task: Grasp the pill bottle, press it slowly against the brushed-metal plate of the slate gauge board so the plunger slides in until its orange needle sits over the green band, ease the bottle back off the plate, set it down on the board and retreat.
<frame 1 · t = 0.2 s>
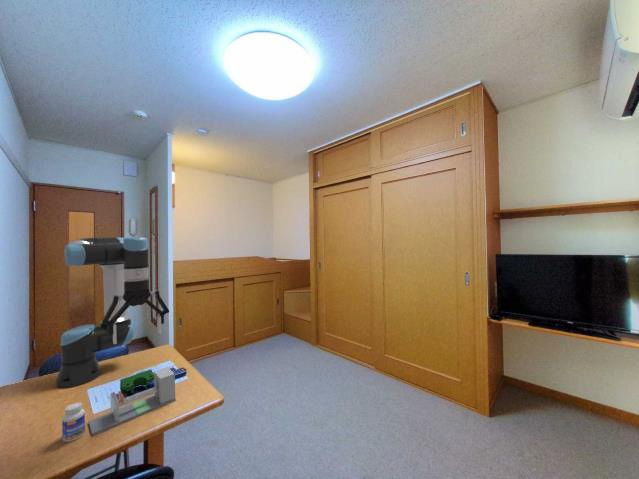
hand: (138, 337, 97), 27 cm above the table, fingers open, 13 cm apart
plunger: (136, 397, 98), point 5 cm above the table, slide at 0.0 cm
pill bottle: (74, 436, 86), on the table
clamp: (138, 390, 112), on the table
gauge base: (142, 407, 100), on the table
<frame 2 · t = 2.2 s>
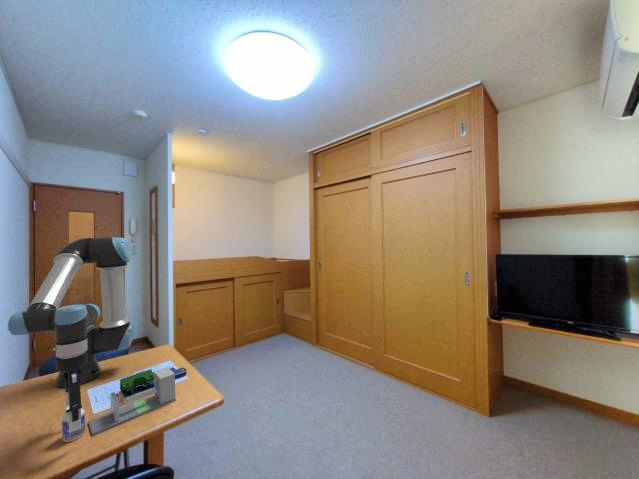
hand: (73, 420, 86), 5 cm above the table, fingers open, 13 cm apart
nothing on the table moved.
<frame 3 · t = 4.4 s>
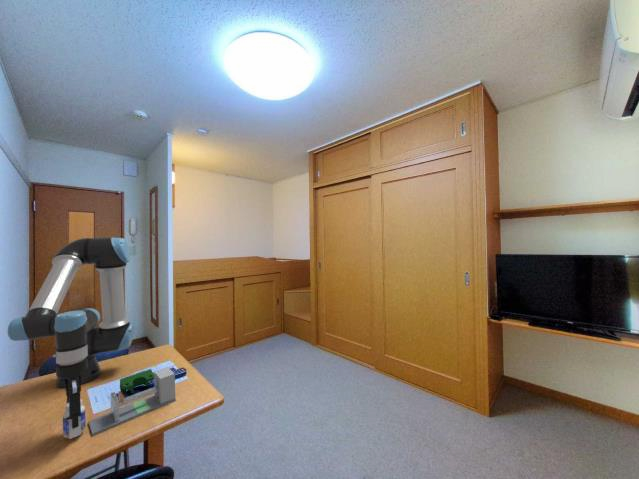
hand: (74, 431, 86), 1 cm above the table, fingers closed on pill bottle, 5 cm apart
pill bottle: (74, 432, 86), point 1 cm above the table, touching gripper
everything else where it was.
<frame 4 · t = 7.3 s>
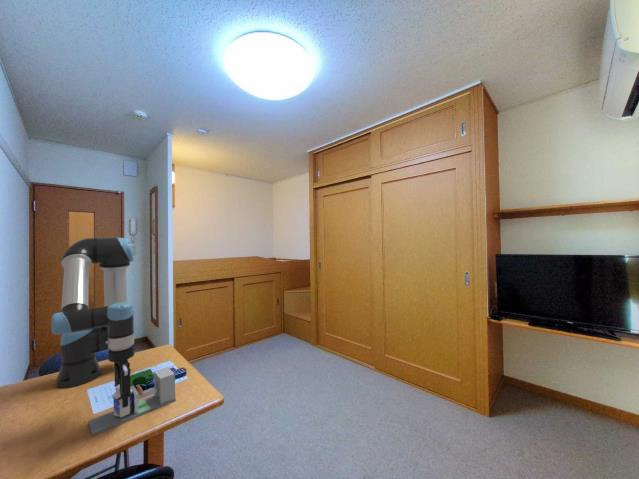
hand: (123, 411, 95), 2 cm above the table, fingers closed on pill bottle, 5 cm apart
plunger: (154, 391, 103), point 5 cm above the table, slide at 5.7 cm, touching pill bottle
pill bottle: (123, 412, 96), point 1 cm above the table, touching gripper, plunger
everything else where it was.
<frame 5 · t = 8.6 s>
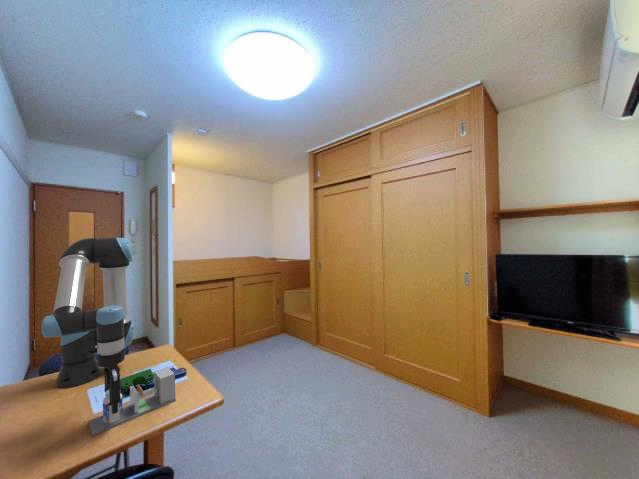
hand: (112, 417, 93), 1 cm above the table, fingers closed on pill bottle, 5 cm apart
plunger: (154, 391, 103), point 5 cm above the table, slide at 5.7 cm
pill bottle: (113, 418, 93), point 1 cm above the table, touching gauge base, gripper
everything else where it was.
when the fingers open (1 cm above the table, at t = 9.2 s): pill bottle stays where it is, resting on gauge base.
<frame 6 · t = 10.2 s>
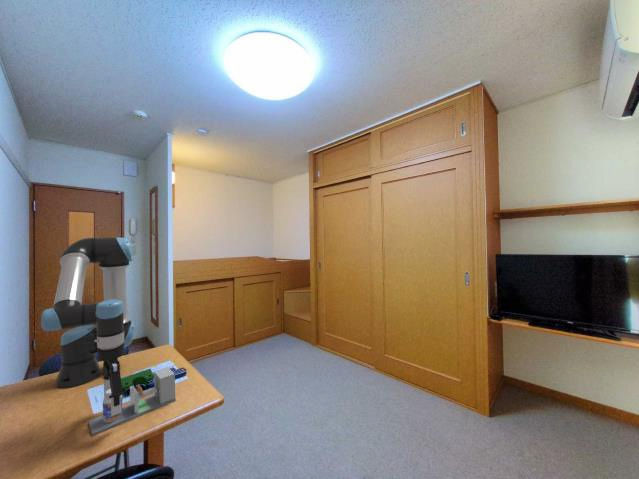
hand: (112, 405, 94), 5 cm above the table, fingers open, 13 cm apart
pill bottle: (113, 418, 93), point 1 cm above the table, touching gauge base
everything else where it was.
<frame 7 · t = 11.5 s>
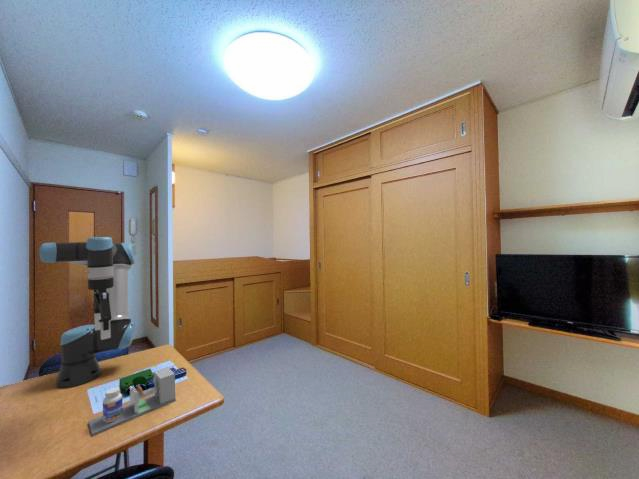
hand: (102, 333, 101), 28 cm above the table, fingers open, 13 cm apart
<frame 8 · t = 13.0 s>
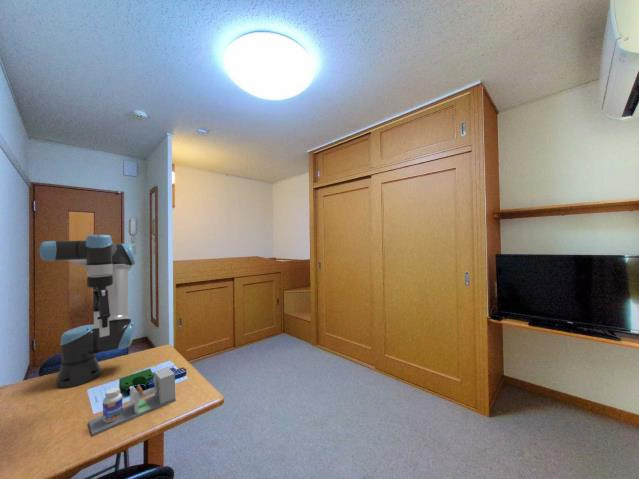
hand: (101, 331, 101), 29 cm above the table, fingers open, 13 cm apart
at the end: plunger slide at 5.7 cm; pill bottle touching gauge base; pill bottle tilted 0° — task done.
